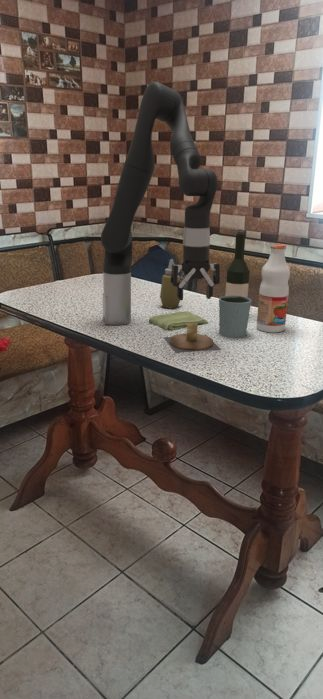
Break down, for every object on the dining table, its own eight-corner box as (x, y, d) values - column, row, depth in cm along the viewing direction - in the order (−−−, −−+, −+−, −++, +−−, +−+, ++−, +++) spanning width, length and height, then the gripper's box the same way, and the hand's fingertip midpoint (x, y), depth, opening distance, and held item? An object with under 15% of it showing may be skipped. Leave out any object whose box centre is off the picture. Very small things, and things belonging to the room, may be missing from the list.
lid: (176, 351, 151) (177, 332, 149) (165, 337, 163) (165, 319, 161) (219, 349, 154) (220, 329, 152) (205, 335, 166) (206, 317, 164)
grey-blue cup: (214, 338, 166) (216, 301, 162) (220, 328, 175) (222, 293, 171) (246, 341, 163) (249, 304, 159) (250, 332, 172) (253, 296, 168)
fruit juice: (261, 323, 182) (268, 241, 173) (288, 327, 178) (297, 244, 168) (252, 330, 174) (259, 245, 165) (279, 334, 170) (288, 247, 161)
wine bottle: (220, 316, 189) (225, 231, 178) (228, 311, 196) (233, 229, 185) (242, 320, 185) (248, 233, 175) (249, 314, 192) (256, 231, 182)
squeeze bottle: (181, 304, 204) (183, 258, 198) (180, 309, 196) (181, 261, 190) (160, 303, 204) (161, 257, 198) (158, 308, 197) (159, 261, 191)
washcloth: (210, 326, 179) (210, 317, 178) (168, 334, 170) (168, 324, 169) (187, 316, 189) (187, 308, 188) (146, 324, 180) (146, 315, 179)
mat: (175, 354, 151) (175, 352, 151) (163, 339, 164) (163, 337, 164) (221, 351, 154) (221, 349, 154) (206, 336, 167) (206, 334, 167)
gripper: (176, 246, 144) (175, 303, 149) (224, 244, 147) (222, 300, 153) (168, 242, 151) (168, 297, 156) (215, 240, 154) (213, 294, 160)
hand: (194, 299), depth 154 cm, fingers open, 8 cm apart
